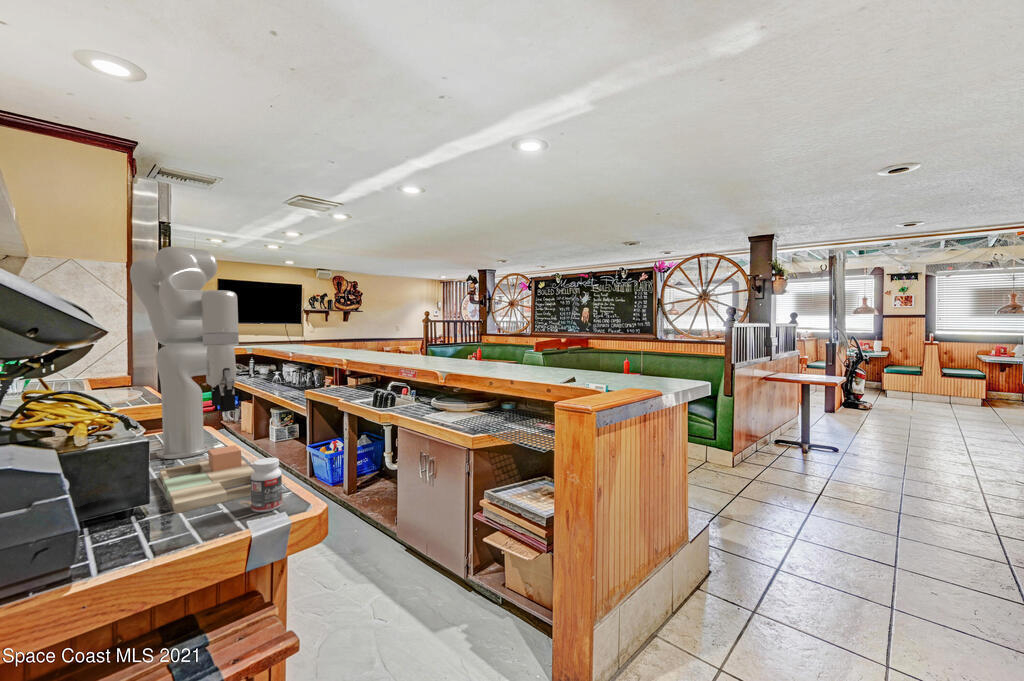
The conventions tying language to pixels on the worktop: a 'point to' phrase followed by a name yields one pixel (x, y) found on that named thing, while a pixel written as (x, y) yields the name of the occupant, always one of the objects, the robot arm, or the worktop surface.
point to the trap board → (205, 485)
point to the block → (224, 458)
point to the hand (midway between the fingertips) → (223, 408)
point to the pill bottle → (266, 485)
